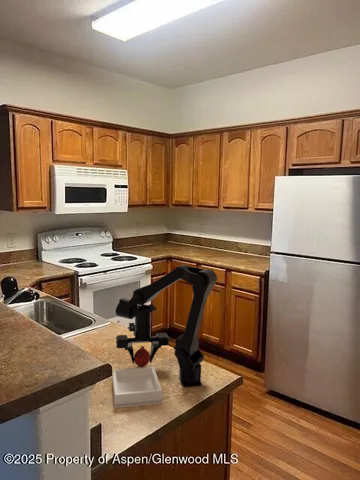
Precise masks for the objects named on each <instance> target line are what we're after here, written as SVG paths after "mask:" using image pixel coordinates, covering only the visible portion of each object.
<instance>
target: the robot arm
mask: <svg viewBox="0 0 360 480" xmlns="http://www.w3.org/2000/svg"><path fill="white" fill-rule="evenodd" d="M180 280H183V281H185V282H186V283H187V284H190V285H192V286H191V290H192V293H193V297H192V300H191V305H190V309H189V312H188V315H187V316H188V317H187V321H186V324H185V327H184V328H185V329H184V332H183V333H182V334H181V335H180V336H178V337H177V338H176V340H175V344H174V345H175V346H174V347H173V350H174V356H175V358H176V359H177V363H178V366H179V369H178V370H179V372H178V373H179V375H178V378H179V382H180V383H181V385H182V387H183V388H187V387H188V388H191V387H198V386H199V387H202V386H203V383H202V381H201V380H202V365H201V363H202V362H203V361H204V358H205V355H204V354H203V353H202V351H201V350H200V348H199V343H200V341H199V337H198V335H199V330H200V327H201V324H202V319H203V315H204V311H205V306H206V305H207V304H206V303H207V300H208V298H209V296H210V294H211V292H212V291H213V289H214V287H215V285H216V283H217V280H218V277H217V274H216V272H215V271H214V270H213V269H210V268H205V269H203V268H200V267H195V266H190V265H187V264H181V265H179V266H176V267H175V268H174V269H173V270H171V271H170V272H168V273H167V274H166V273H165V275H163V276H162V277H160V278H158V279H157V280H155V281H153V282H152V283H150V284H148V285H145V286H141V287H140V288H137V289H135V290H133V292H132V297H131V298H130V299H126V298H123V297H122V298H120V299H119V302H118V303H117V305H116V307H115V315H116V317H120V318H124V319H129V320H133V319H134V322H129V323H128V332H133V337H128V334H117V335H116V336H115V345H116V349H124V351H127V352H128V354H129V356H130V359H131V361H132V364H133V365H134V364H135V361H134V355H135V353H134V347H133V344H145V343H150V351H149V354H150V361H149V363H152V361H153V359H154V357H155V356H156V354H157V352H158V350H159V349H161V348H162V347H163V346H164V347H165V346H169V345H170V337H169V336H168V334H167V333H166V332H157V333H156V335H154V336H153V335H152V336H151V334H152V325H151V324H152V313H154V312H155V311H157V307H156V306H155V305H154V304H153V303H150V302H153V300H154V299H155V298H156V297H157V296H158V295H159V294H160V293H161V292H162V291H164V290H165V289H166V288H168V287H170V286H172V285H173V284H175V283H176V282H179V281H180ZM147 303H150V304H147Z"/></svg>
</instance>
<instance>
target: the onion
mask: <svg viewBox="0 0 360 480" xmlns="http://www.w3.org/2000/svg"><path fill="white" fill-rule="evenodd" d="M149 363H150V351H148V350H147V349H146V348H145V346H144V345H143V346H142V345H141V347H140V348H139V349H137V350H136V352H135V353H134V364H135V365H136V366H138V368H141V367H147V365H148V364H149Z"/></svg>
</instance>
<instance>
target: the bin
mask: <svg viewBox="0 0 360 480" xmlns="http://www.w3.org/2000/svg"><path fill="white" fill-rule="evenodd" d="M112 370H113V376H112V377H111V379H112V380H111V381H112V391H113V392H112V393H113V401H114V408H115V409H117V408H127V407H136V406H139V407H140V406H147V405H159V404H162V401H163V400H162V399H163V390H162V388H161V384H160V380H159V379H158V376H157V372H156V369H155V367H154V366H144V367H132V368H131V367H129V368H115V369H112Z"/></svg>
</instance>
